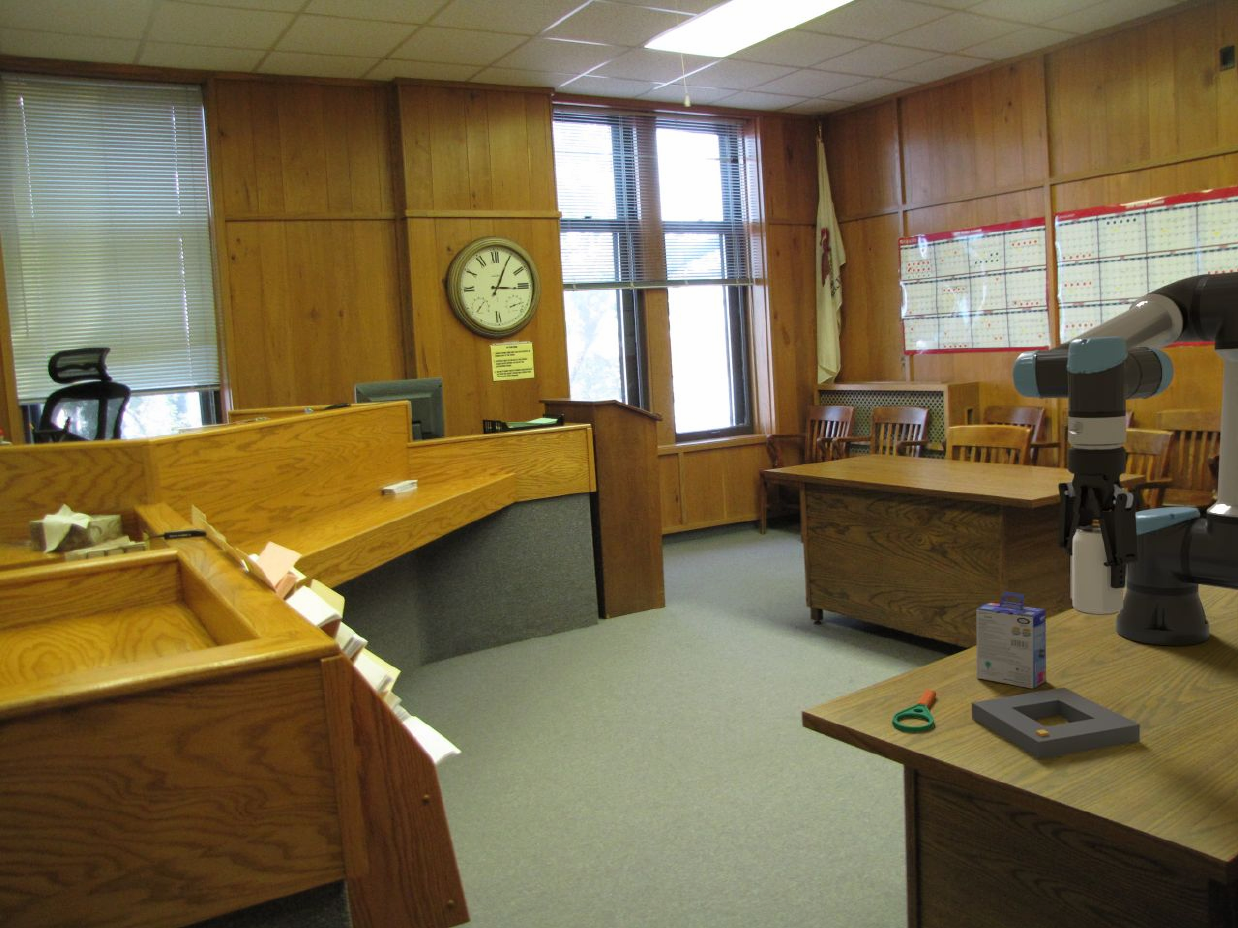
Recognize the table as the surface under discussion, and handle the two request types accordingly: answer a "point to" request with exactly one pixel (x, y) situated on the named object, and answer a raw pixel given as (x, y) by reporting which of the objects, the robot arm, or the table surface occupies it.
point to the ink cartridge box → (1011, 642)
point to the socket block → (1082, 734)
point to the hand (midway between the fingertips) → (1096, 603)
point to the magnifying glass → (917, 714)
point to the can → (1089, 571)
